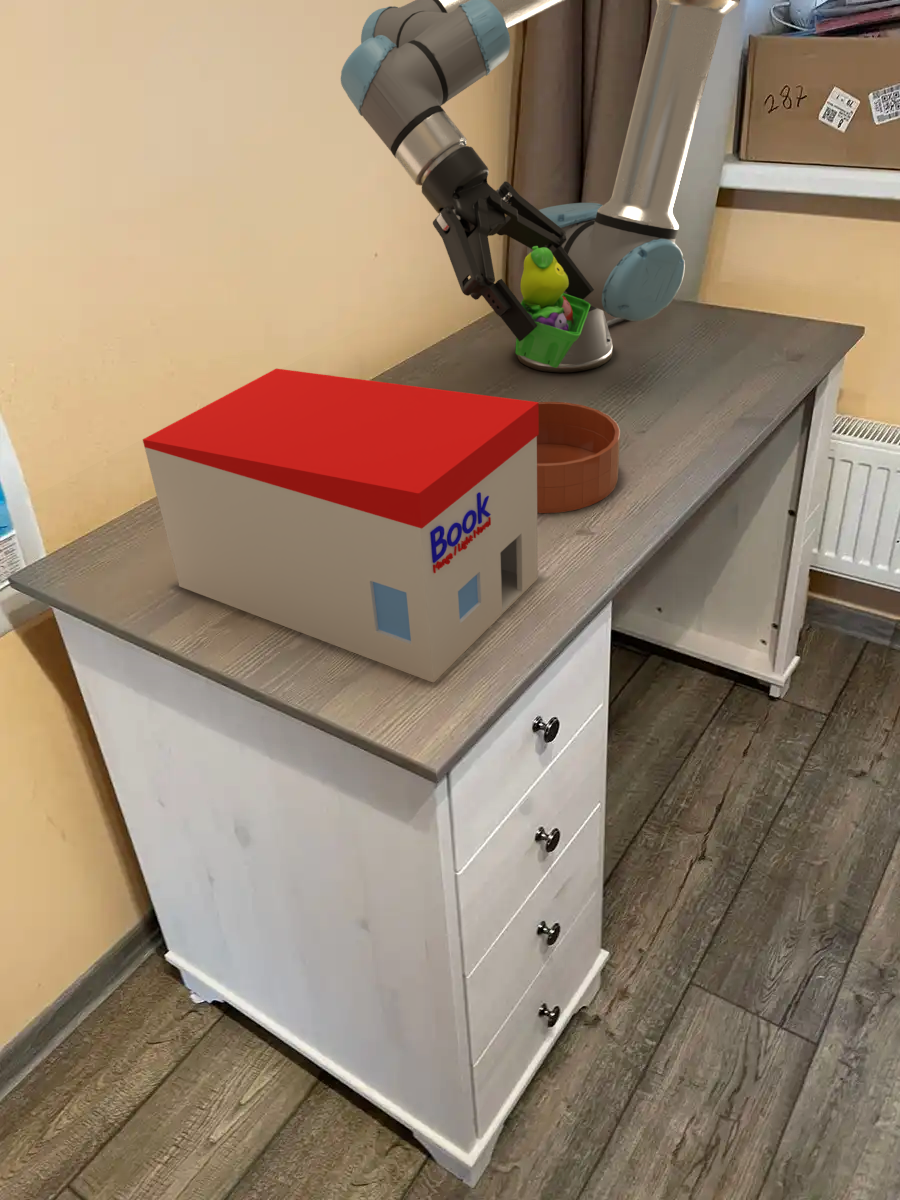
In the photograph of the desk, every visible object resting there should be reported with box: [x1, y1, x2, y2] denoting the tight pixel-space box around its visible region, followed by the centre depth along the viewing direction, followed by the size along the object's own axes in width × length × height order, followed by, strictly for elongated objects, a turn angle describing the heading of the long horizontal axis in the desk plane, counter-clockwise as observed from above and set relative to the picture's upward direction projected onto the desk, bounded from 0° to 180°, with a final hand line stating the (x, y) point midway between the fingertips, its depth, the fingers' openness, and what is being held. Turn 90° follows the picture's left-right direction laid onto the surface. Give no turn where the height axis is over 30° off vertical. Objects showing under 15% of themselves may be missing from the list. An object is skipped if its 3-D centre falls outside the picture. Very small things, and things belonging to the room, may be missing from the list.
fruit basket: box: [515, 246, 590, 368], centre depth 118 cm, size 11×9×11 cm
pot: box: [537, 401, 621, 514], centre depth 129 cm, size 18×18×6 cm
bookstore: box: [142, 368, 539, 683], centre depth 108 cm, size 21×35×21 cm, turn 57°
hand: (558, 315), depth 118 cm, fingers closed on fruit basket, 13 cm apart
